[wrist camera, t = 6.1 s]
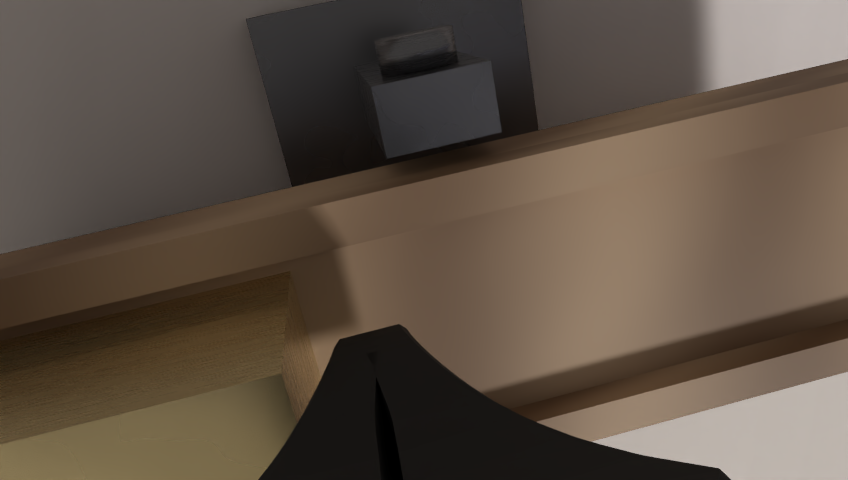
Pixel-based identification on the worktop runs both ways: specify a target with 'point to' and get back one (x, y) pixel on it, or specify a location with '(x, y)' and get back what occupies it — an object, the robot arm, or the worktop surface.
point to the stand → (392, 80)
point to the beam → (538, 257)
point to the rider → (160, 389)
